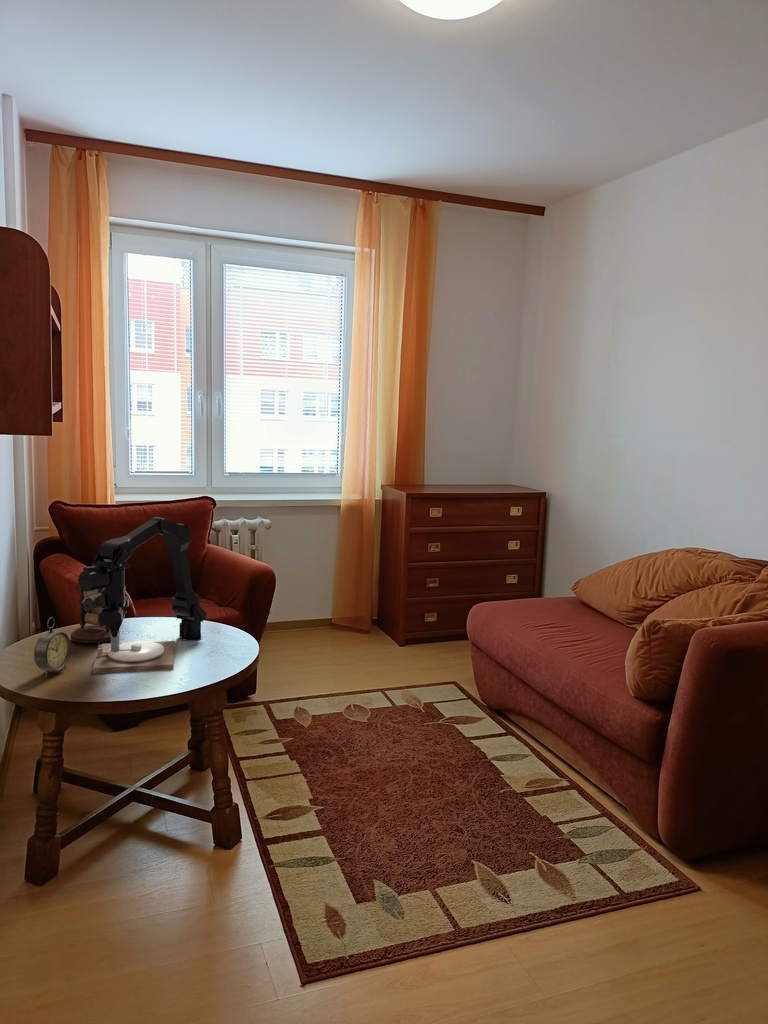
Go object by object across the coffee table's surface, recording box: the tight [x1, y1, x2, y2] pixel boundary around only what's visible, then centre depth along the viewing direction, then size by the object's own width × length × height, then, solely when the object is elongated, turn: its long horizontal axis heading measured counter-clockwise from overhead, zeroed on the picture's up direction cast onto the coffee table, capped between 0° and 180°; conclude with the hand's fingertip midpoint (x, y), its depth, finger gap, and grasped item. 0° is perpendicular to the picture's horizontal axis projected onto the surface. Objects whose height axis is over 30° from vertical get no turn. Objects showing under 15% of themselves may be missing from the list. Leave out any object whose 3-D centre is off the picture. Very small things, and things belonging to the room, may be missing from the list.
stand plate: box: [92, 640, 176, 674], centre depth 217 cm, size 22×22×4 cm
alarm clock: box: [33, 616, 72, 679], centre depth 202 cm, size 11×5×16 cm, turn 168°
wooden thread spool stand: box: [70, 586, 121, 647], centre depth 232 cm, size 15×15×20 cm
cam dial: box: [103, 633, 164, 662], centre depth 217 cm, size 18×16×6 cm
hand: (114, 637), depth 210 cm, fingers closed
